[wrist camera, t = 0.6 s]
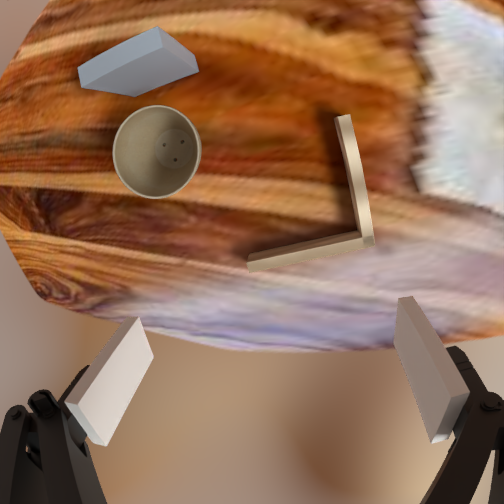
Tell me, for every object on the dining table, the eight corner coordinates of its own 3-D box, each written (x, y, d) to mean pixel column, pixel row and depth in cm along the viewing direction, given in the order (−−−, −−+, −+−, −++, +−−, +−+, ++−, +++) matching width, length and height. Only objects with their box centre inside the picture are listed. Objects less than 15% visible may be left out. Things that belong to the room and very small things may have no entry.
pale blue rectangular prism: (130, 81, 34) (77, 67, 23) (194, 55, 32) (157, 26, 21) (134, 96, 35) (81, 87, 24) (199, 71, 33) (163, 47, 22)
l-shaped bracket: (218, 146, 36) (212, 146, 33) (344, 116, 33) (349, 114, 31) (252, 263, 41) (249, 273, 38) (369, 238, 38) (375, 246, 35)
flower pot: (154, 197, 39) (129, 210, 33) (131, 127, 36) (102, 127, 30) (225, 173, 37) (211, 182, 31) (200, 98, 34) (182, 90, 28)
